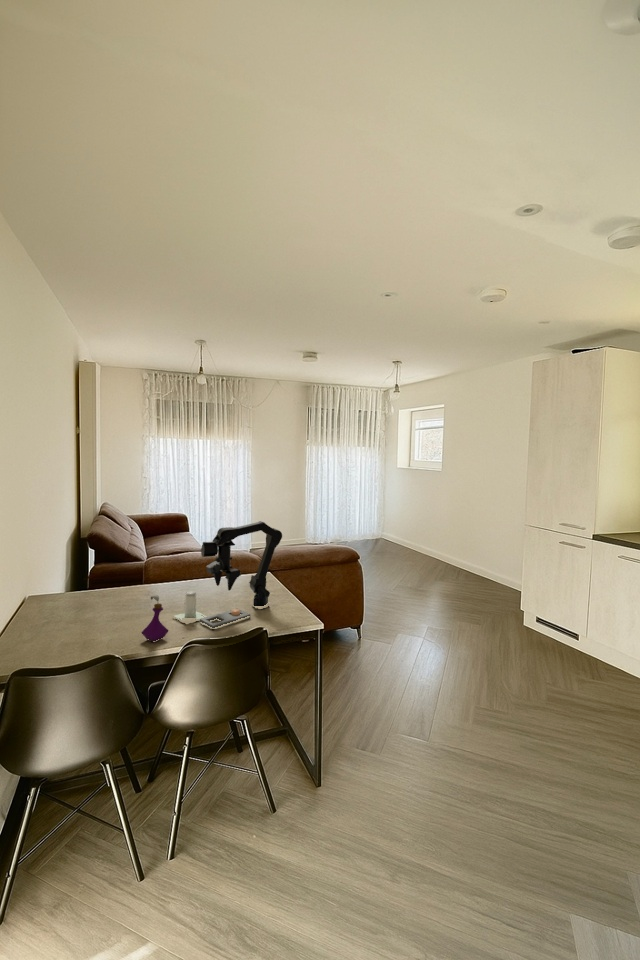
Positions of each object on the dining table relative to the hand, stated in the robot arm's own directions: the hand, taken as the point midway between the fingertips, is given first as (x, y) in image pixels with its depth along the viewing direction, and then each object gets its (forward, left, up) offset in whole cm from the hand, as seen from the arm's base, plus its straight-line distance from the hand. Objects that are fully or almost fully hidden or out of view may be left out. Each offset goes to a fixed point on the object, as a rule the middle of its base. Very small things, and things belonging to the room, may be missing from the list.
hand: (223, 587), depth 211 cm
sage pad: (+15, -4, -12) cm, 20 cm away
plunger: (-1, +9, -12) cm, 15 cm away
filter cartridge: (+15, -4, -11) cm, 19 cm away
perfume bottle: (+37, +6, -12) cm, 39 cm away
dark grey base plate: (+5, +9, -12) cm, 16 cm away
